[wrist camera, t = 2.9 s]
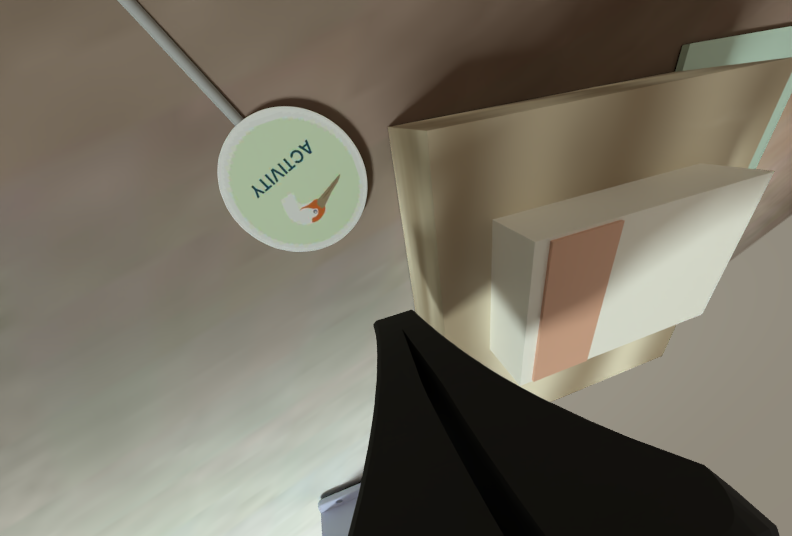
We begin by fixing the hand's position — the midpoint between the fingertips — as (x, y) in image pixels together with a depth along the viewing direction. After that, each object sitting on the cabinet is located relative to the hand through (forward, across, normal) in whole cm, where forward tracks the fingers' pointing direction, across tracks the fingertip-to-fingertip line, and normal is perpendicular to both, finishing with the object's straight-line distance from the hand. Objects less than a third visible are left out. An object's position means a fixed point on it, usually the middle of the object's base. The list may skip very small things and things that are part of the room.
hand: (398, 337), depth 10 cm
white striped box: (+1, -8, 0) cm, 8 cm away
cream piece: (+5, -9, +2) cm, 10 cm away
